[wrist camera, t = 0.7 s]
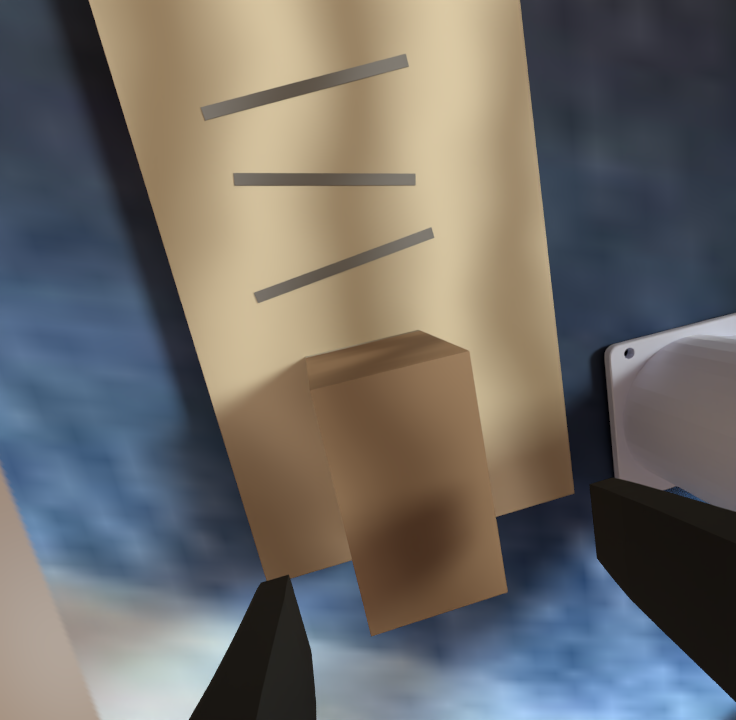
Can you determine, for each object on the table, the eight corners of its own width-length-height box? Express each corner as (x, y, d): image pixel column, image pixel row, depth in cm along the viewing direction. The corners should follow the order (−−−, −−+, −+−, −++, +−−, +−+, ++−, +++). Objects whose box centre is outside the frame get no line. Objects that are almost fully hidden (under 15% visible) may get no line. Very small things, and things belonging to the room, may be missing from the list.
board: (483, -111, 15) (503, -153, 14) (554, 478, 21) (574, 493, 19) (81, -67, 14) (55, -109, 12) (270, 561, 19) (268, 585, 17)
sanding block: (418, 329, 17) (469, 350, 12) (451, 508, 18) (507, 592, 13) (305, 356, 16) (309, 390, 11) (350, 538, 18) (371, 636, 13)
